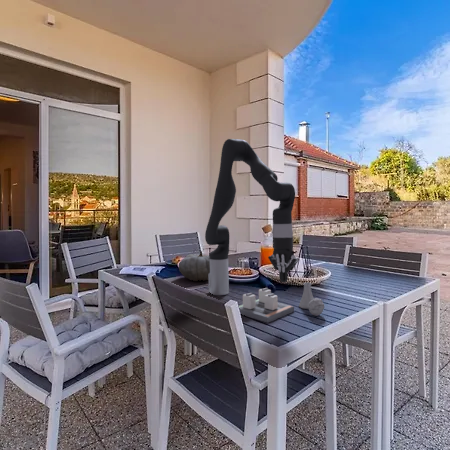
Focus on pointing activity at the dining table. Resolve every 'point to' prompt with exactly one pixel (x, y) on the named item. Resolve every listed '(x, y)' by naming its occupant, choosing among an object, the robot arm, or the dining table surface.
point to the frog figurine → (316, 306)
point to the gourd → (195, 267)
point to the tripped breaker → (271, 301)
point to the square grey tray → (266, 311)
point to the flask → (306, 296)
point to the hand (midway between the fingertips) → (283, 281)
